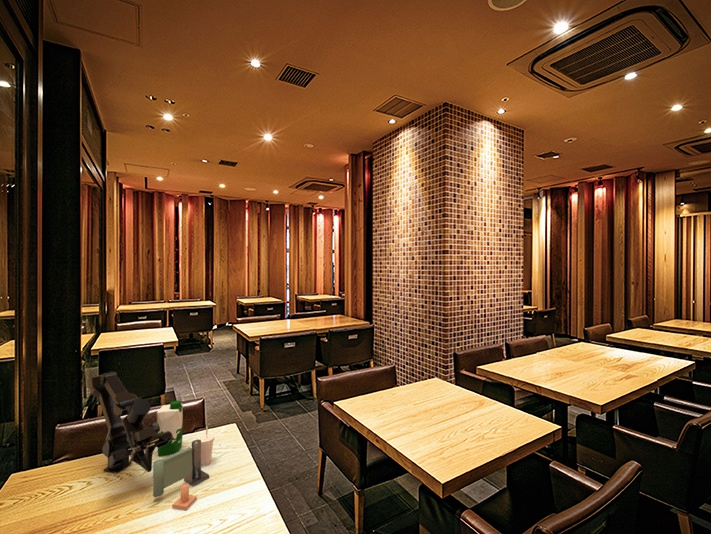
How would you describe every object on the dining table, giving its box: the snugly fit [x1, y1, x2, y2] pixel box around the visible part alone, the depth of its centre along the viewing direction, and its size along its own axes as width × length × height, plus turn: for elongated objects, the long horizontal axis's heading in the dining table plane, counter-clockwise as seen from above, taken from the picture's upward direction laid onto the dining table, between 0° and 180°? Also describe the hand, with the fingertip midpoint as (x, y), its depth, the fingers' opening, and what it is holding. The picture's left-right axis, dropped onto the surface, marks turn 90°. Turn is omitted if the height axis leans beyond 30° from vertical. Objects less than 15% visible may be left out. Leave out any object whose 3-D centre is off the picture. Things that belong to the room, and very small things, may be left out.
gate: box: [152, 446, 192, 498], centre depth 116 cm, size 12×3×10 cm, turn 145°
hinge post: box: [183, 439, 210, 488], centre depth 123 cm, size 6×6×14 cm
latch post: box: [171, 482, 198, 511], centre depth 110 cm, size 5×5×6 cm
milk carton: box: [156, 400, 184, 457], centre depth 142 cm, size 9×9×20 cm
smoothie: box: [196, 426, 215, 466], centre depth 133 cm, size 6×6×14 cm
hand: (150, 471), depth 115 cm, fingers closed
